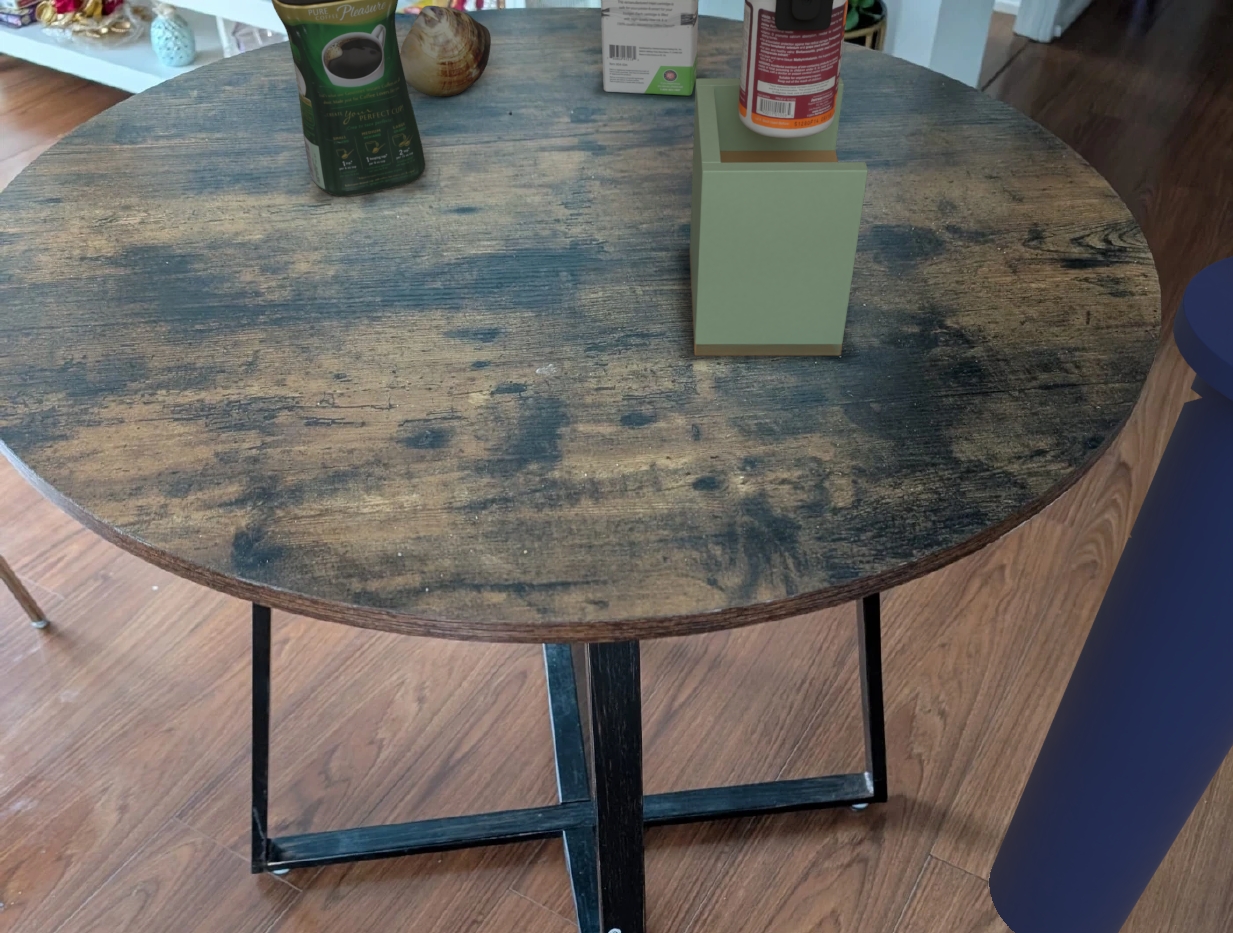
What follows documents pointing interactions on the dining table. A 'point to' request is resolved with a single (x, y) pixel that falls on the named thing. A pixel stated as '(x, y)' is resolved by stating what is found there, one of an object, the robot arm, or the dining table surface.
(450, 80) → the seashell
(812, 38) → the pill bottle
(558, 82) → the dining table surface
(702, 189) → the green pencil holder
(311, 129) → the coffee jar
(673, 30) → the ink box
